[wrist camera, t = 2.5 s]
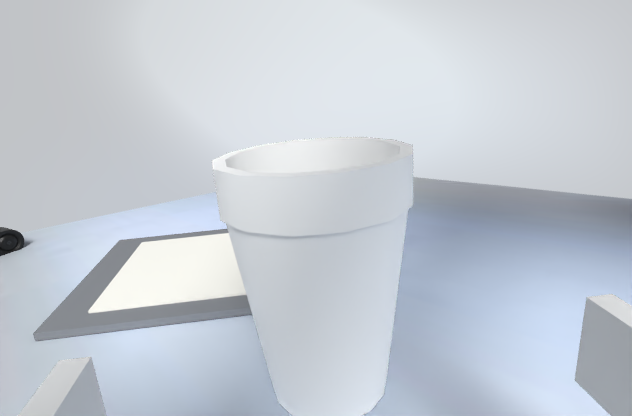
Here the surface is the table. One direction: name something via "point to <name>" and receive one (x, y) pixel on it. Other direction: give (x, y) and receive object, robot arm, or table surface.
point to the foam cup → (320, 262)
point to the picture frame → (154, 286)
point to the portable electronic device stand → (10, 241)
